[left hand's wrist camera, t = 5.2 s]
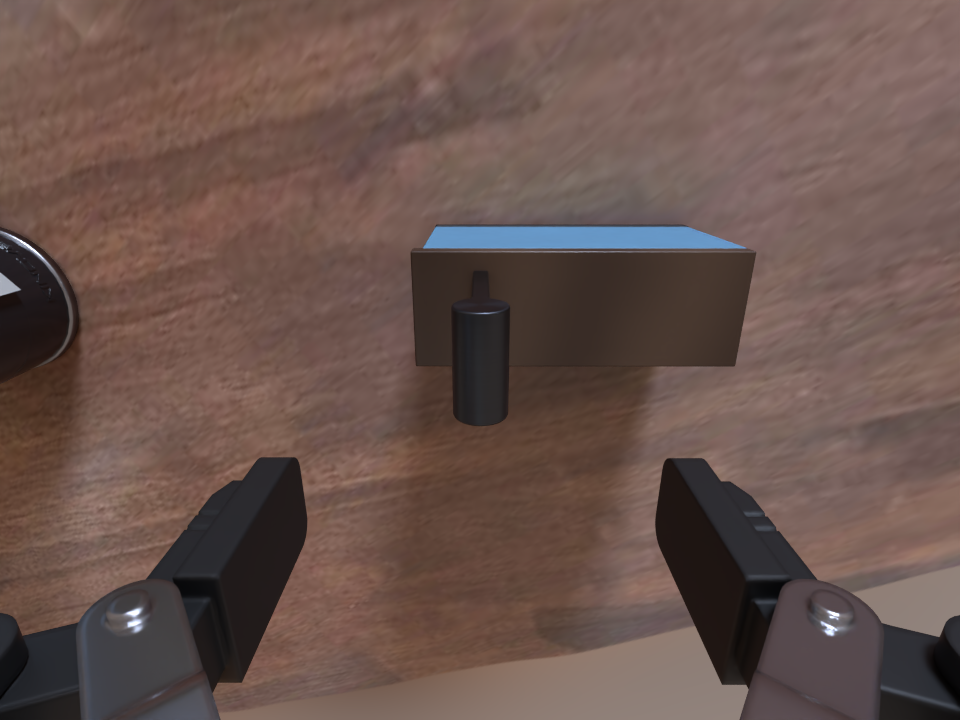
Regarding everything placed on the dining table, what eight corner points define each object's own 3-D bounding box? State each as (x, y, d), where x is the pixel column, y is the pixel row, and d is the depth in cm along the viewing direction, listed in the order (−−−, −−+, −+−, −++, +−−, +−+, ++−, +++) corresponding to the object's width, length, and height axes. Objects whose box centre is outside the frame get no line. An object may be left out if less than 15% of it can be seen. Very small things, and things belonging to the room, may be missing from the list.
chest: (439, 312, 35) (426, 360, 27) (436, 224, 33) (422, 247, 25) (671, 312, 35) (727, 360, 27) (683, 224, 33) (747, 247, 25)
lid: (417, 360, 27) (392, 444, 19) (412, 247, 25) (381, 291, 17) (727, 360, 27) (828, 445, 19) (748, 248, 25) (870, 291, 17)
